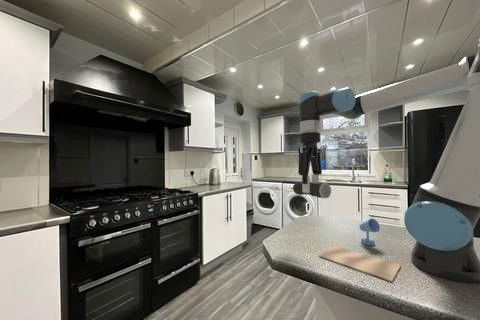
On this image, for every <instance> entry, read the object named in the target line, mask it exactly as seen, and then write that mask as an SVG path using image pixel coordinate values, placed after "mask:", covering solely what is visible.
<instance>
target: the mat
mask: <svg viewBox="0 0 480 320" xmlns="http://www.w3.org/2000/svg"><path fill="white" fill-rule="evenodd" d="M318 257H319V258H321V259H324V260H327V261H330V262H333V263H336V264H338V265H341V266H344V267H347V268H350V269H352V270H355V271H358V272H360V273H361V272H362V273H365V274H367V275H369V276H373V277H375V278H378V279H381V280H384V281H386V282H390V283H393V281H394V280H395V278H396V276H397V274H398V273H399V270H400V269H401V268H402V265H401V264H398V263H394V262H392V261H387V260H385V259H381V258H377V257H375V256H371V255H367V254H364V253H361V252H357V251H353V250H350V249H347V248H344V247H339V246H337V245H332V246H331V247H329V248H328V249H327V250H325V251H324V252H322V253H320V254H319V255H318Z"/></svg>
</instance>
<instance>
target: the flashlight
mask: <svg viewBox="0 0 480 320" xmlns="http://www.w3.org/2000/svg"><path fill="white" fill-rule="evenodd" d="M292 190H293V192H294V194H296V195H297V196H298V195H301V196H302V195H303V196H304V195H307V196H308V195H310V196H311V197H315V198H316V197H317V198H318V199H319V198H321V199H329V197H331V194H332V187H331V186H330V184H329V183H327V182H319V183H312V182H311V183H310V193H303V192H302V181H297V182H296V183H294V184H293V187H292Z"/></svg>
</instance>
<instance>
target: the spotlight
mask: <svg viewBox="0 0 480 320" xmlns="http://www.w3.org/2000/svg"><path fill="white" fill-rule="evenodd" d="M359 229H360V231H361V232H366V236H361V238H360V241H361V242H360V243H362V244H364V245H365V246H366V245H367V246H374V245H375V238H373V237H370V232H371V233H378V232H379V231H380V229H381V227H380V223H379V222H378V220H376V219H375V218H369V219H367V220H366V221H364V222H361V223H360V224H359Z"/></svg>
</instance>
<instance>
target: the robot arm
mask: <svg viewBox="0 0 480 320" xmlns="http://www.w3.org/2000/svg"><path fill="white" fill-rule="evenodd" d="M463 90H466V91H467V92H468V91H469V94H468V96H467V98H466V100H465V103H464V104H463V107H462V110H461V112H460V114H459V116H458V119H457V121H456V123H455V125H454V126H453V127H454V128H453V130H452V132H451V134H450V136H449V138H448V141H447V144H446V146H445V148H444V150H443V152H442V154H441V157H440V159H439V161H438V163H437V166H436V168H435V171H434V172H433V174H432V177H431V179H430V181H428V182H427V183H426V182H425V183H423V184H420V185H419V187H418V190H417V192H416V194H415V196H414V199H413V200H412V204H411V205H410V206H408V208H407V209H406V210H405V212H404V218H403V223H404V226H405V229H406V231H407V232H408V234H409V235H410V236H411V237H412V238H413V239H414V240H415V244H414V246H413V248H412V250H411V253H410V262H412V264H413V265H414V266H415V267H417V268H419V269H421V270H423V271H425V272H427V273H428V274H431V275H435V276H438V277H439V278H440V277H441V278H444V279H447V280H450V281H455V282H456V281H457V282H461V283H470V284H471V283H473V284H476V283H480V259H479V256H478V255H477V254H478V253H477V252H476V250H475V245H474V228H475V226H476V225H477V223H478V220H479V219H480V38H479V39H478V51H477V52H475V53H474V54H470V55H467V56H465V57H463V59H462V60H461V61H460V62H458V63H454V64H451V65H449V66H445V67H442V68H440V69H437V70H433V71H429V72H428V73H423V74H420V75H418V76H414V77H411V78H409V79H405V80H402V81H399V82H395V83H393V84H389V85H386V86H383V87H381V88H377V89H374V90H371V91H368V92H364V93H361V94H358V95H356V96H355V92H354V90H353V89H352V88H350V87H345V88H340V89H337V90H334V91H329V92H327V93H324V94H321V95H320V93H319V92H318V91H315V90H314V91H313V90H312V91H311V90H310V91H306V92H302V94H300V96H299V104H298V107H299V132H300V134H299V143H300V144H302V147H298V148H297V149H298V169H297V170H298V171H297V172H298V174H299V176H301V177H302V179H301V182H302V192H303V193H310V184H312V183H320V175H322V174H323V173H322V172H323V171H322V169H323V168H322V155H321V154H322V149H321V148H318V145H317V144H319V143H321V133H320V131H321V116H326V115H327V116H328V115H333V114H334V115H338V116H340V117H343V118H345V119H349V120H356V119H358V118H361V116H363V115H367V114H371V113H376V112H379V111H383V110H387V109H390V108H396V107H399V106H402V105H407V104H411V103H415V102H418V101H423V100H426V99H427V100H428V99H430V98H431V99H432V98H435V97H439V96H443V95H446V94H451V93H455V92H458V91H463ZM310 166H311V170H312V171H311V172H312V174H311V176H310V175H309V173H310ZM310 177H311V178H310Z"/></svg>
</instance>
